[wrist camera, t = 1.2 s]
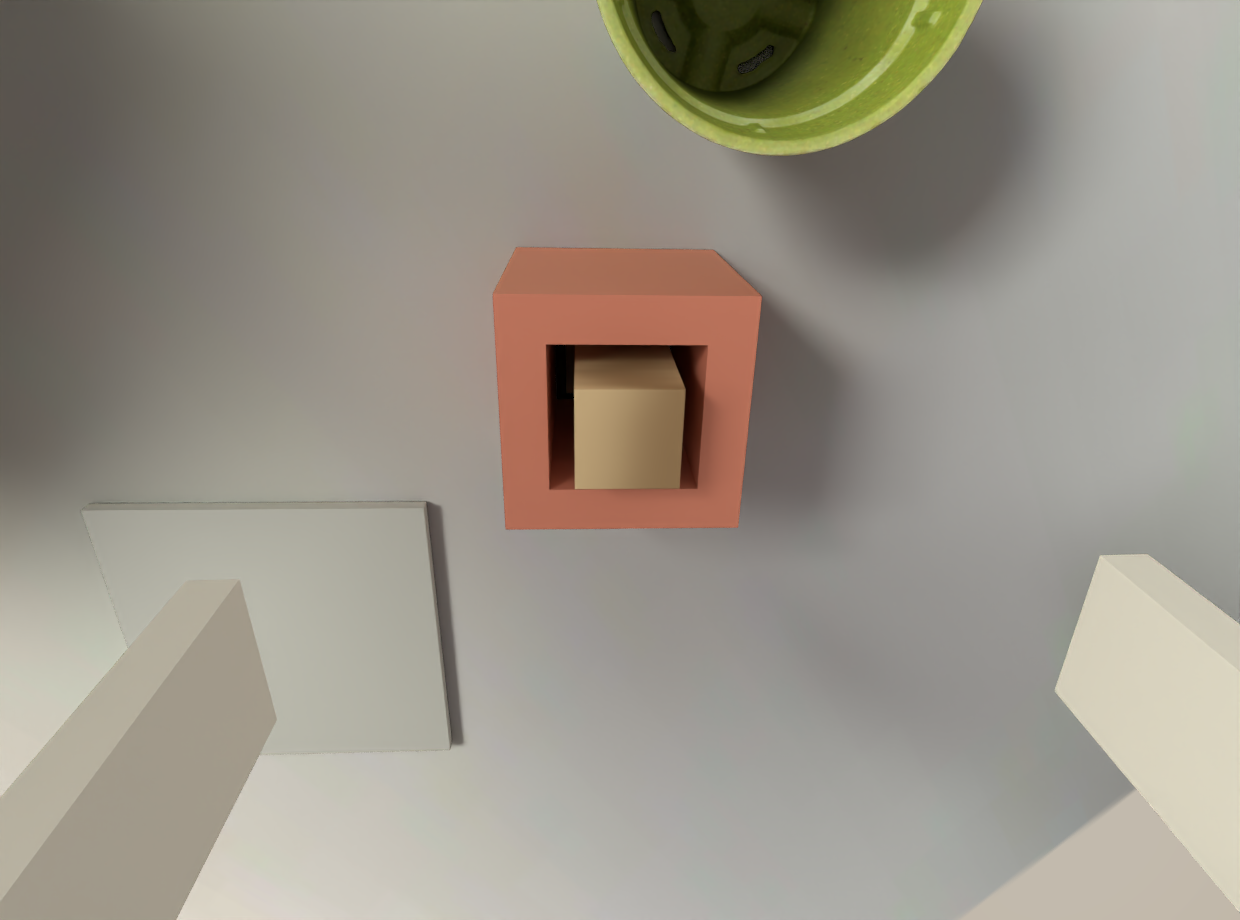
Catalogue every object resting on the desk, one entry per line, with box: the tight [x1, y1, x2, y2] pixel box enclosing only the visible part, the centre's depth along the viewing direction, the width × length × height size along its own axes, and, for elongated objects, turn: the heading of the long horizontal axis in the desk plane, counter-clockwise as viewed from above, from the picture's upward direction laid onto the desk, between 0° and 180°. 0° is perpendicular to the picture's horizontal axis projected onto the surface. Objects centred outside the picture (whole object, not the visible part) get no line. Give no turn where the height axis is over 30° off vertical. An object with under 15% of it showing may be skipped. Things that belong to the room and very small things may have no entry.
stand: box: [566, 344, 686, 489], centre depth 24 cm, size 4×4×10 cm
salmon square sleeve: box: [493, 247, 762, 529], centre depth 25 cm, size 7×7×8 cm
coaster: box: [81, 501, 452, 755], centre depth 33 cm, size 14×14×1 cm
